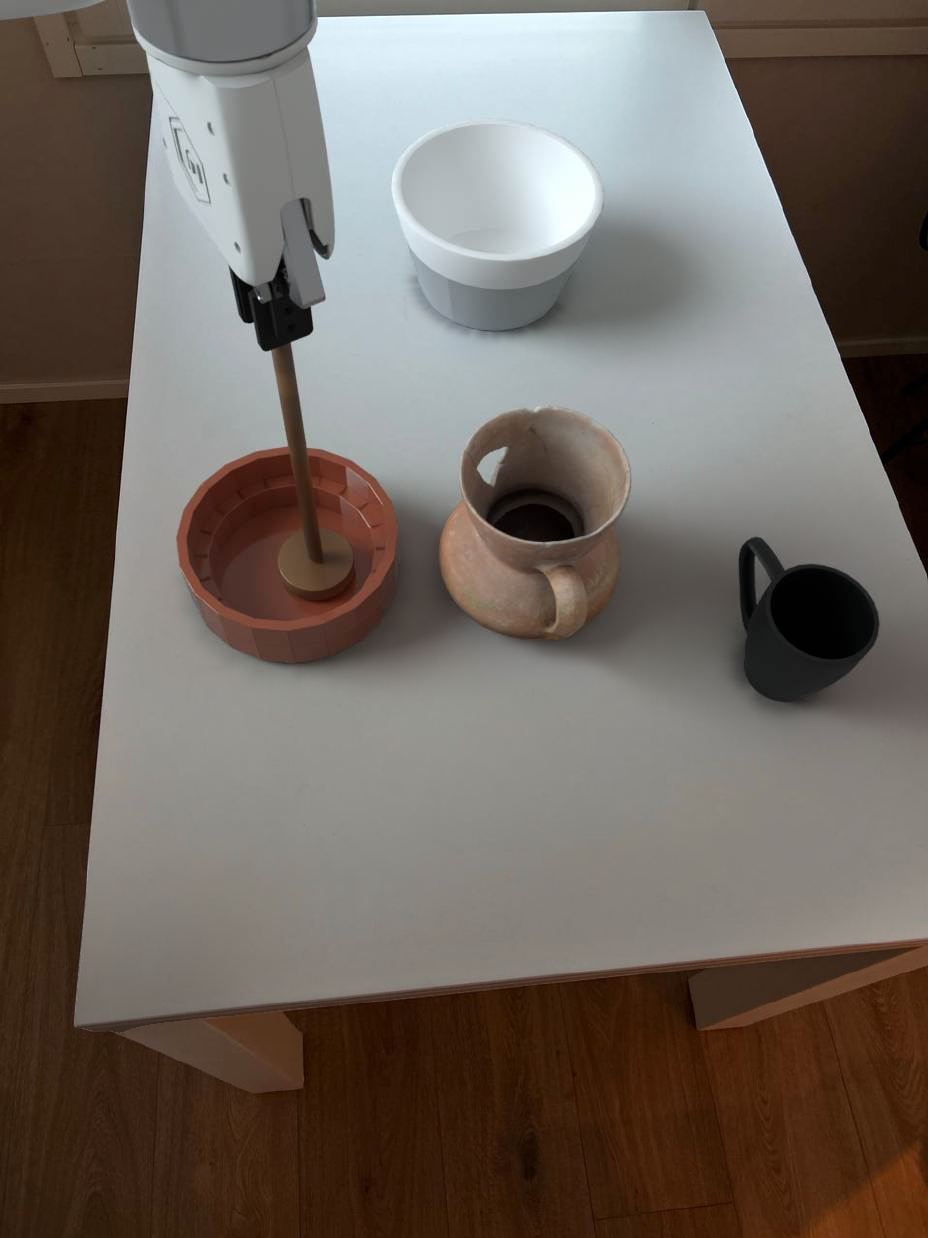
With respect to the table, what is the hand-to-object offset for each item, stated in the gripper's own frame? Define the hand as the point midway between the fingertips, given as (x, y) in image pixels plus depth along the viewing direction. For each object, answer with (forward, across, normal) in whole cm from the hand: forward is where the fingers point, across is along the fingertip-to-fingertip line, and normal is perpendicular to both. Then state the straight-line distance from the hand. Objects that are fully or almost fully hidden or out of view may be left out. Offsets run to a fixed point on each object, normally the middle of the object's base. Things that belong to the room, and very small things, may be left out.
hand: (276, 324), depth 55 cm
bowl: (+28, -22, +30) cm, 47 cm away
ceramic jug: (+28, +9, +15) cm, 33 cm away
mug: (+28, +24, +28) cm, 46 cm away
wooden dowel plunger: (+27, 0, 0) cm, 27 cm away
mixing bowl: (+28, -1, -2) cm, 28 cm away
